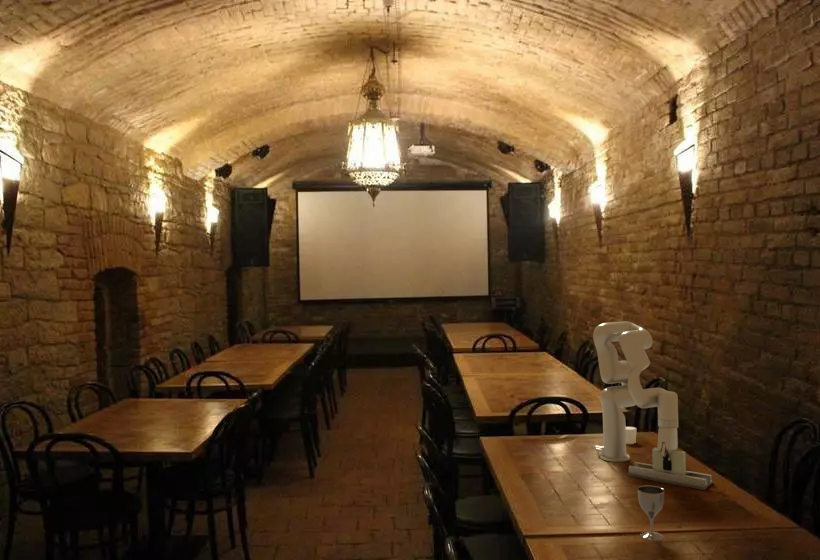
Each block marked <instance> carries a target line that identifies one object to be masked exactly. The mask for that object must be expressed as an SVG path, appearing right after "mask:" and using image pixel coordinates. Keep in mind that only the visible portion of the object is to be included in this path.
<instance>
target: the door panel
mask: <svg viewBox="0 0 820 560" xmlns="http://www.w3.org/2000/svg"><path fill="white" fill-rule="evenodd" d="M651 451H652V453H651V455H652V457H651V458H652V465H653V470H658V471H664V472H670V473H675V474H681V475H686V471H687V468H686V467H687V465H686V464H687V461H686V460H687V457H686V453H687V452H686V451H683V450H677V449H676V450H674V451H673V452H671V458H670V460H671V464H672V470H671V471H668V470H663V459H662V458H663V457H662V456H661V452H662V451H661V452H658V446H657V447H656V446H655V447H653V448H652V449H651ZM666 452H668V451H666ZM666 455H668V454H666Z"/></svg>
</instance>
